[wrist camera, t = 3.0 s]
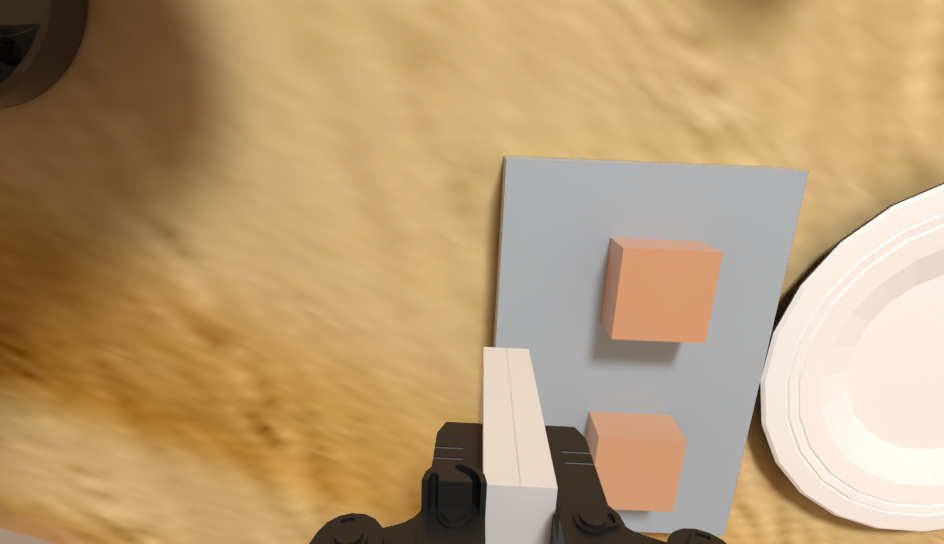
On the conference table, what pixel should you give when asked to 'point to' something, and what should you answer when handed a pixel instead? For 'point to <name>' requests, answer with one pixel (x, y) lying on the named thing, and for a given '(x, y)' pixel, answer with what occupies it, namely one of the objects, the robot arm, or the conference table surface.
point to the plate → (866, 373)
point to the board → (633, 361)
